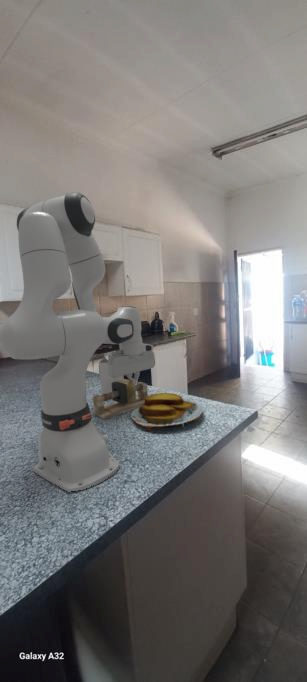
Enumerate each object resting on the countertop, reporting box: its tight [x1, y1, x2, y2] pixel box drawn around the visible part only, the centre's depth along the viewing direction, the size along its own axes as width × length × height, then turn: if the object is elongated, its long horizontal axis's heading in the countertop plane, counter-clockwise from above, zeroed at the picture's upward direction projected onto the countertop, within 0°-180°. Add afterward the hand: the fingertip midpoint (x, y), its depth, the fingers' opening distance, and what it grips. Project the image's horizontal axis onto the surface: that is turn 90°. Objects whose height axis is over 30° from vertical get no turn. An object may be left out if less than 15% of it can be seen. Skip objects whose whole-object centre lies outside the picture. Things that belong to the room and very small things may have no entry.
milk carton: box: [98, 350, 125, 395], centre depth 125 cm, size 7×7×19 cm
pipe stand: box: [91, 381, 149, 420], centre depth 111 cm, size 9×22×7 cm, turn 131°
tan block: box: [117, 378, 137, 402], centre depth 113 cm, size 6×4×7 cm, turn 41°
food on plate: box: [129, 392, 204, 432], centre depth 101 cm, size 25×25×7 cm
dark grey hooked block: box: [112, 381, 128, 404], centre depth 110 cm, size 6×2×7 cm, turn 41°
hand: (133, 383), depth 114 cm, fingers closed
